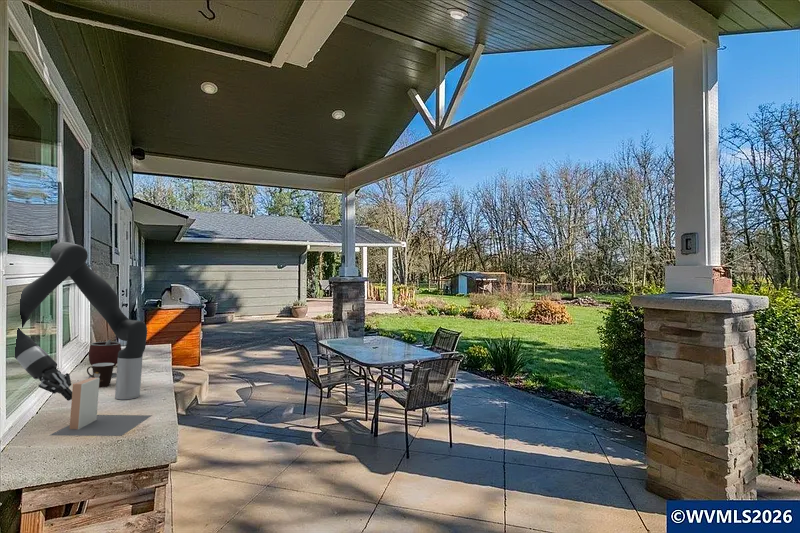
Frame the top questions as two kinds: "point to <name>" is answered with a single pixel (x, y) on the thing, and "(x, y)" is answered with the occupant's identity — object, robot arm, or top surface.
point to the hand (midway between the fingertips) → (72, 398)
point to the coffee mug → (102, 373)
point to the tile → (84, 403)
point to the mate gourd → (104, 353)
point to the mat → (105, 426)
